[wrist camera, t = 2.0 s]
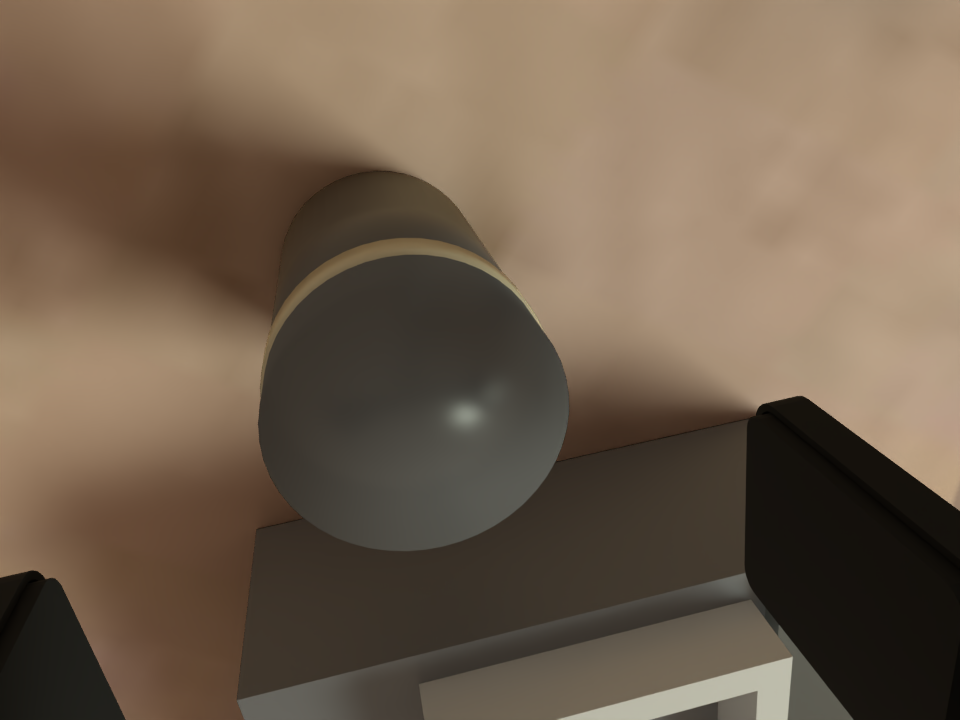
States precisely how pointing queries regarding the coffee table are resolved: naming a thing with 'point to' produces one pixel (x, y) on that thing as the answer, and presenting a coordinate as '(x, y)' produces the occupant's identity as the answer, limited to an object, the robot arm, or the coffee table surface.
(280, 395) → the lens
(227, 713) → the coffee table surface
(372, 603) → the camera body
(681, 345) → the coffee table surface
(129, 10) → the coffee table surface
